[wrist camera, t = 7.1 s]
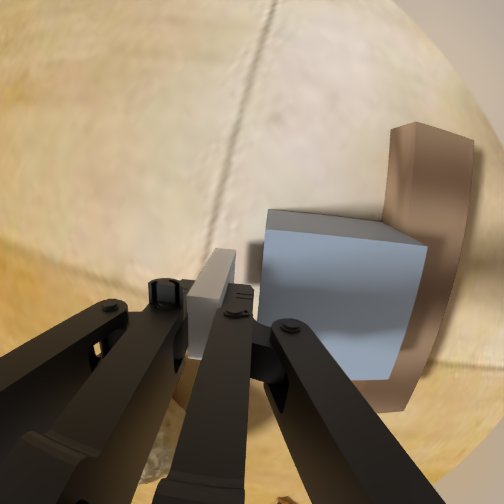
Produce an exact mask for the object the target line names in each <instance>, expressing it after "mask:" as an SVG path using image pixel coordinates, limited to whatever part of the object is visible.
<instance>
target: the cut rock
mask: <svg viewBox="0 0 504 504" xmlns="http://www.w3.org/2000/svg"><path fill="white" fill-rule="evenodd" d="M185 414H186V412H185V409H183V408H182V407H180V406H179V405H178V403H177V402H176V401H175V400H174V399H173V398H172V399H171V401H170V404H169V406H168V409H167V411H166V414H165V416H164V419H163V421H162V424H161V426H160V429H159V431H158V434H157V436H156V439H155V441H154V444H153V447H152V449H151V452H150V454H149V457H148V459H147V462H146V465H145V467H144V470H143V472H142V475H141V478H140V480H139V483H138V484H147V483H150V482H154V481H156V480H157V479H159V478H161V477H163V476H166V475H167V474H169V471H170V468H171V464H172V460H173V457H174V453H175V449H176V446H177V442H178V439H179V435H180V432H181V428H182V425H183V421H184V418H185Z"/></svg>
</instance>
